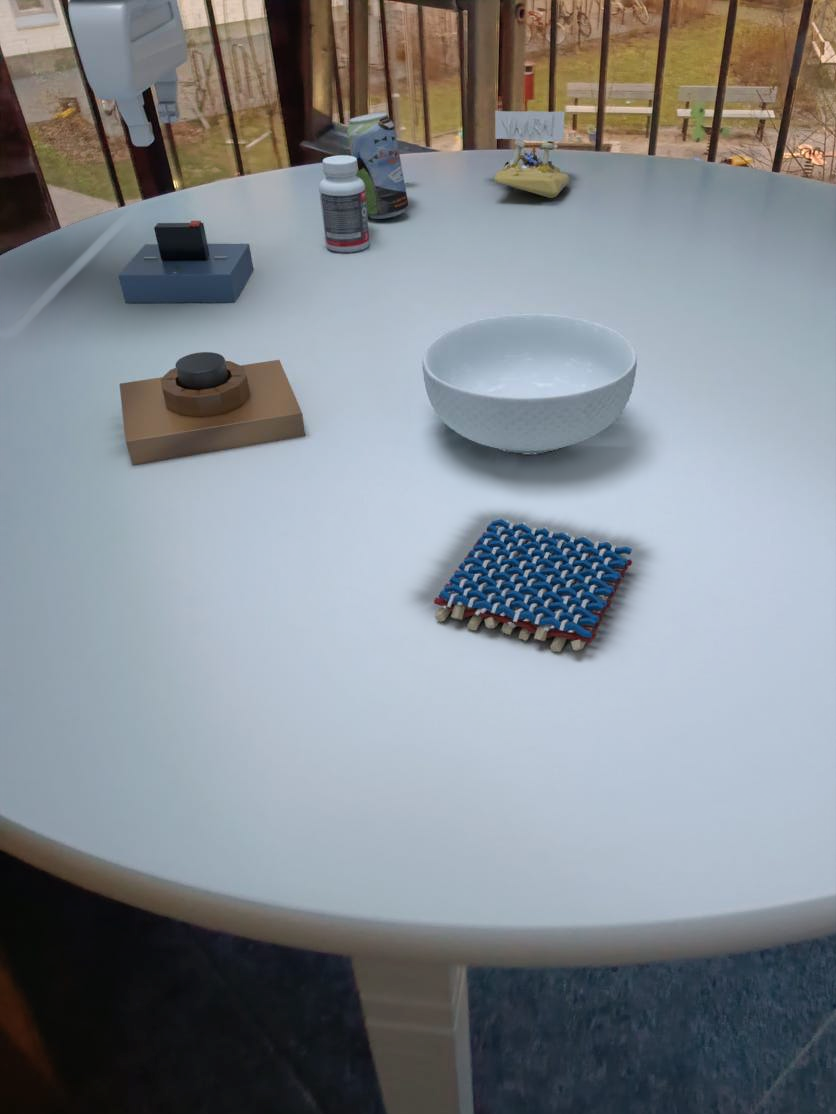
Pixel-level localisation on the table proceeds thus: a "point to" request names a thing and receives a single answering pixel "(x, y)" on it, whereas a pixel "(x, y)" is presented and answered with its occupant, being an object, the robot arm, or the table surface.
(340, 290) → the table surface
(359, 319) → the table surface
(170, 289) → the panel
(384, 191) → the beverage can
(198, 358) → the button
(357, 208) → the pill bottle
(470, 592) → the woven mat
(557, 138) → the miniature sign display
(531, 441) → the cereal bowl
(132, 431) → the button box
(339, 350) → the table surface
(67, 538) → the table surface
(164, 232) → the knob
